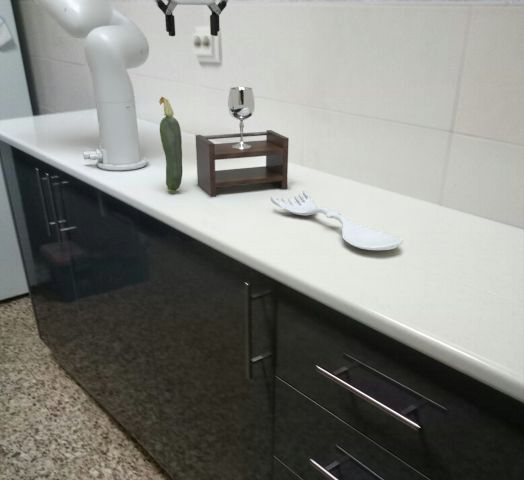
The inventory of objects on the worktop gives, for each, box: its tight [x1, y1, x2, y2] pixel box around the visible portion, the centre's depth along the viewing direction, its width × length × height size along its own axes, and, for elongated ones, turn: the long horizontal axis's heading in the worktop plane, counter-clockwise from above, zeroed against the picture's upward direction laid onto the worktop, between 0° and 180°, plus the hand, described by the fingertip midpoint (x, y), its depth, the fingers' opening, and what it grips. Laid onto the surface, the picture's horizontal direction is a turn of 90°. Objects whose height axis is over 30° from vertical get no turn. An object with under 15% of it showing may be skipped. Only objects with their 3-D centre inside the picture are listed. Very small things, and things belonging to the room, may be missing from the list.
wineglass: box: [227, 86, 256, 149], centre depth 127 cm, size 6×6×12 cm
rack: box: [194, 129, 290, 198], centre depth 132 cm, size 18×10×11 cm, turn 112°
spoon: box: [269, 190, 404, 251], centre depth 109 cm, size 9×32×4 cm, turn 32°
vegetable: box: [158, 96, 183, 194], centre depth 124 cm, size 4×4×20 cm
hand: (193, 35), depth 128 cm, fingers open, 9 cm apart
